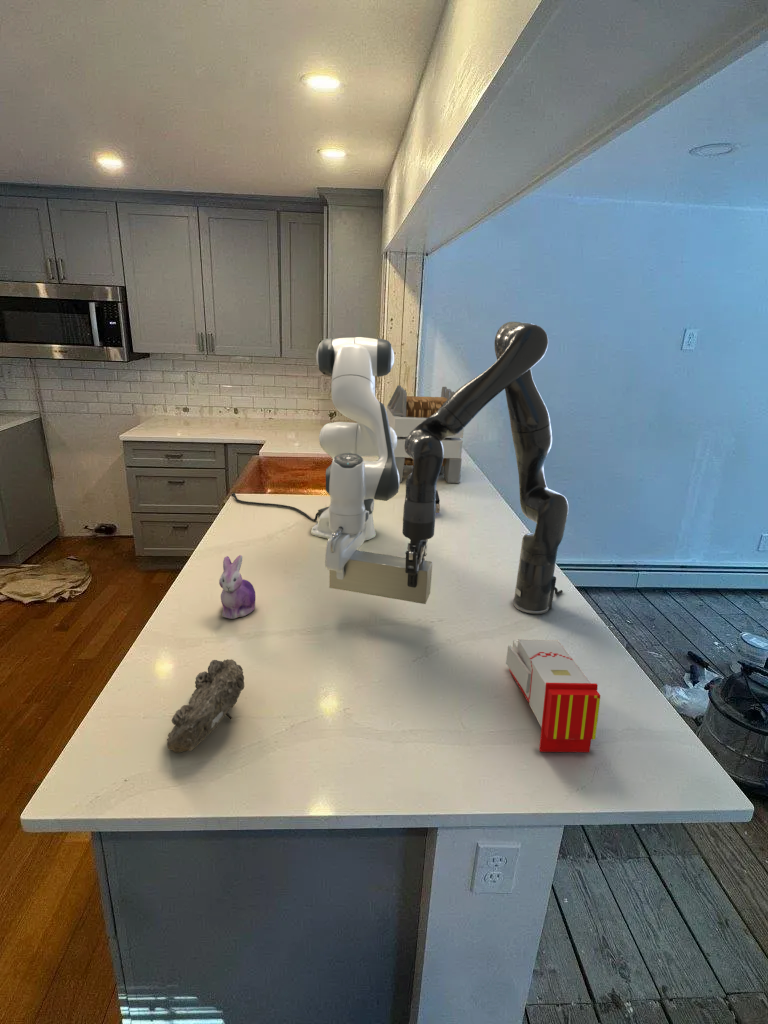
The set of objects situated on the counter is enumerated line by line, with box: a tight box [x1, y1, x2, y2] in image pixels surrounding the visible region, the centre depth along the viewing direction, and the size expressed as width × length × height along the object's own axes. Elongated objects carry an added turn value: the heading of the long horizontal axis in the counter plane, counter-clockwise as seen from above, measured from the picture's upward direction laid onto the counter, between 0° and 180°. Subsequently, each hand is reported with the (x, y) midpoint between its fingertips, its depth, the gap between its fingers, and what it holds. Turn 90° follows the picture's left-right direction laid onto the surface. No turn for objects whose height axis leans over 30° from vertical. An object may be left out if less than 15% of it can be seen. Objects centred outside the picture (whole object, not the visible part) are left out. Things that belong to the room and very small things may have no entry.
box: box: [328, 549, 433, 605], centre depth 141 cm, size 25×6×9 cm, turn 74°
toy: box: [505, 638, 602, 753], centre depth 114 cm, size 12×13×30 cm
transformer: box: [386, 384, 465, 484], centre depth 268 cm, size 34×33×41 cm
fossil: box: [166, 658, 245, 754], centre depth 106 cm, size 22×10×15 cm
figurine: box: [218, 554, 256, 619], centre depth 143 cm, size 9×10×15 cm
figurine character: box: [435, 489, 441, 517], centre depth 221 cm, size 7×8×15 cm
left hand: (345, 572), depth 143 cm, fingers closed on box, 6 cm apart
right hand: (415, 580), depth 138 cm, fingers closed on box, 6 cm apart
